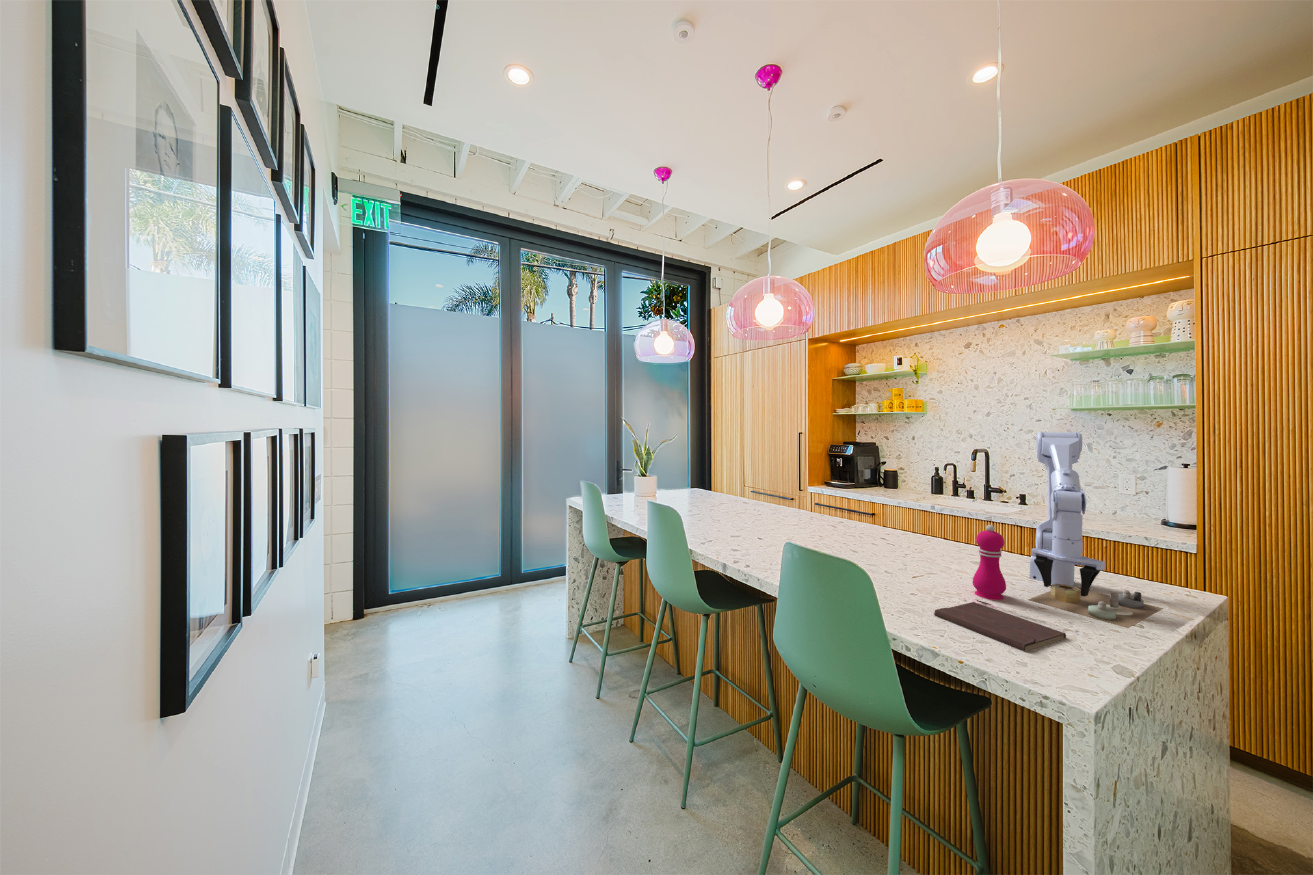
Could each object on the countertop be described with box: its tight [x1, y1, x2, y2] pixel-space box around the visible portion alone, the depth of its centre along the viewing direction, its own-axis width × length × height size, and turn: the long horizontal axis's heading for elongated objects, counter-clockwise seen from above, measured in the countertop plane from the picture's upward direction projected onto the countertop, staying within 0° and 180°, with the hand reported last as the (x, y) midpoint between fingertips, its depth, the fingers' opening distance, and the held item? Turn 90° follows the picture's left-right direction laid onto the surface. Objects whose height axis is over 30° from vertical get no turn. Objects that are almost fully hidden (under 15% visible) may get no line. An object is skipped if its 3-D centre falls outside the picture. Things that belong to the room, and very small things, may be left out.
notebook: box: [933, 601, 1067, 652], centre depth 110 cm, size 15×20×2 cm
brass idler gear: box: [1050, 583, 1081, 603], centre depth 122 cm, size 5×5×3 cm
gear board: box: [1027, 587, 1164, 629], centre depth 119 cm, size 19×22×6 cm
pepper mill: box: [972, 524, 1007, 606], centre depth 125 cm, size 7×7×20 cm
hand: (1065, 590), depth 122 cm, fingers open, 7 cm apart
